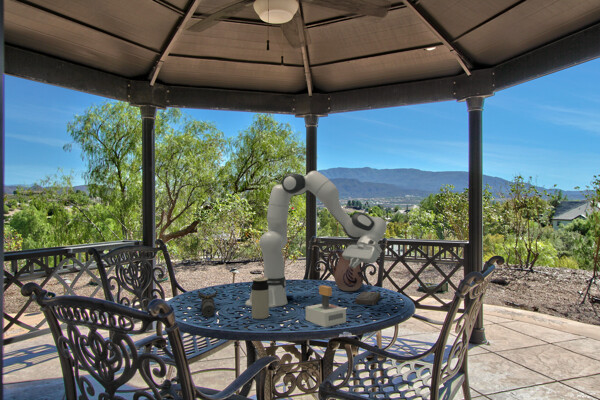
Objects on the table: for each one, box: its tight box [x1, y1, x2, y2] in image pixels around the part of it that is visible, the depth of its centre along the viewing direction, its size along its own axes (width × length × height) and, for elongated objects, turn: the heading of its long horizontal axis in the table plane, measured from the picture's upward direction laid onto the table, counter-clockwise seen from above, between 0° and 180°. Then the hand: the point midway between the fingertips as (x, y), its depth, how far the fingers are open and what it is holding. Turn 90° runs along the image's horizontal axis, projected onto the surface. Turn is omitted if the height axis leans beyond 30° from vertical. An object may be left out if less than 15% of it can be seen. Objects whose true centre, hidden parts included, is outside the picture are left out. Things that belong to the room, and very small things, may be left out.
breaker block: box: [305, 303, 347, 328], centre depth 178 cm, size 12×14×6 cm
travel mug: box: [251, 276, 270, 320], centre depth 186 cm, size 8×8×18 cm
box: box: [354, 291, 382, 306], centre depth 217 cm, size 11×17×3 cm, turn 158°
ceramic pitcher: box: [328, 248, 364, 292], centre depth 246 cm, size 18×21×25 cm
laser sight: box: [197, 288, 219, 318], centre depth 197 cm, size 10×22×10 cm, turn 14°
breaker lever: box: [318, 284, 333, 307], centre depth 178 cm, size 2×6×9 cm, turn 35°
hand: (351, 267), depth 188 cm, fingers closed
